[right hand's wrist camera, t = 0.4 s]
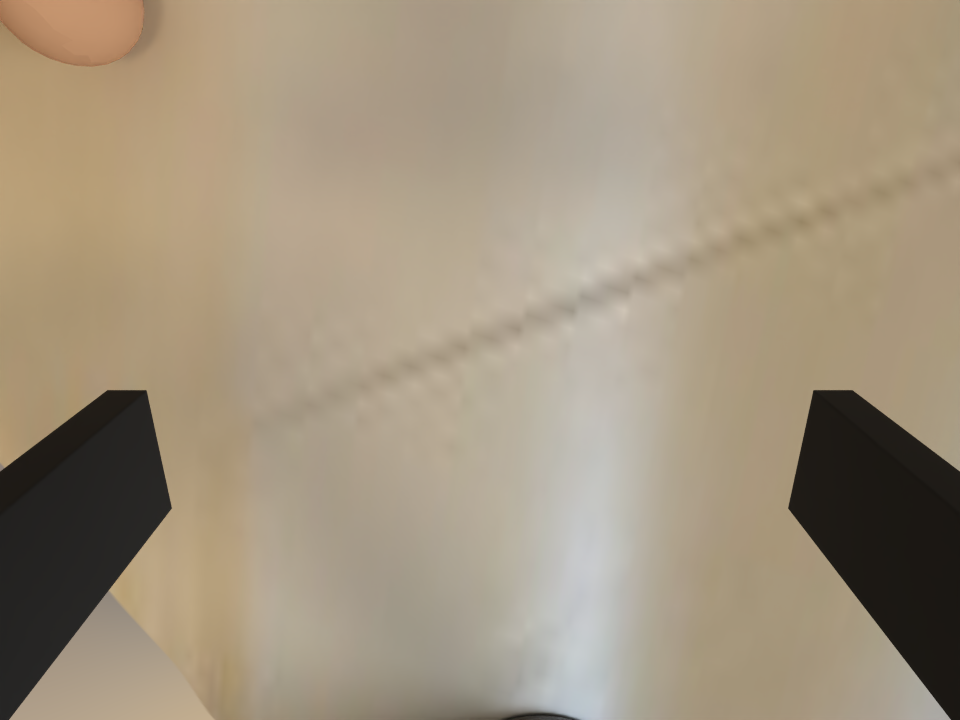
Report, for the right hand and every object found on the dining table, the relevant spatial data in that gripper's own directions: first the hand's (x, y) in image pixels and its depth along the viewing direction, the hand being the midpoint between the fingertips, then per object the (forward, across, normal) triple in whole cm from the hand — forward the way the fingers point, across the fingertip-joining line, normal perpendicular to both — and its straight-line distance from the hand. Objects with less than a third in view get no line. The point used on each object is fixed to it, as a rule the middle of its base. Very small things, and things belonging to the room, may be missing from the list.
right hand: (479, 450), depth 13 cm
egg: (+28, -20, +11) cm, 36 cm away
